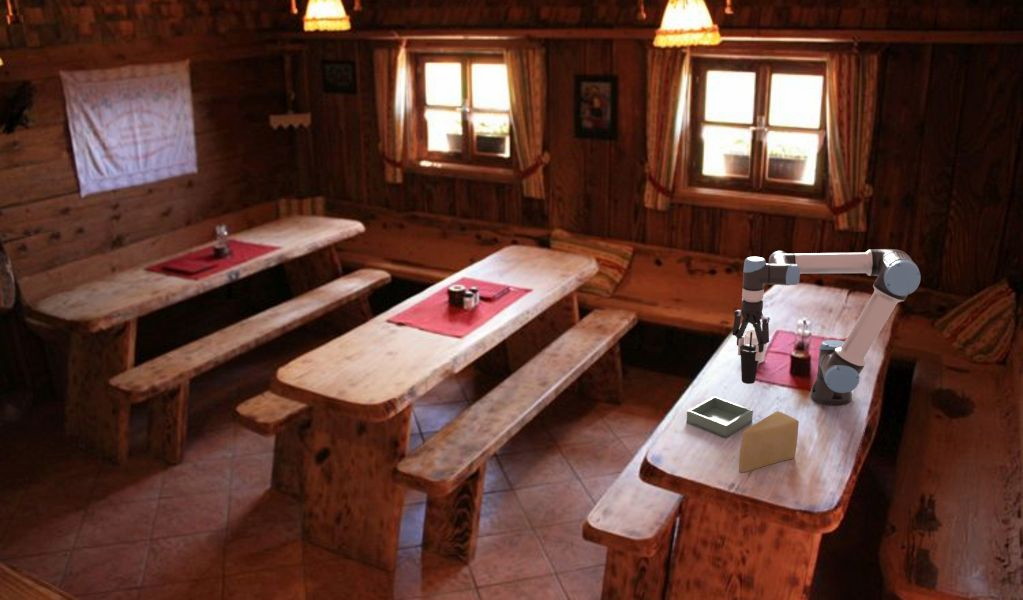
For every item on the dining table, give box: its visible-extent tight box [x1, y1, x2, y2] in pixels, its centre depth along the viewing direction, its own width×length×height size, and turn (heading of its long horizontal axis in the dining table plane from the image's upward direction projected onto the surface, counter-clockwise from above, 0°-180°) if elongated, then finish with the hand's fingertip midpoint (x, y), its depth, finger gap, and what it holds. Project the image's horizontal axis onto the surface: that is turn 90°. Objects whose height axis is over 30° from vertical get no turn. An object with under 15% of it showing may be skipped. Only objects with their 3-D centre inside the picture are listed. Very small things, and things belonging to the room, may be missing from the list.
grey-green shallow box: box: [686, 395, 754, 439], centre depth 326 cm, size 17×17×5 cm
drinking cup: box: [740, 332, 759, 385], centre depth 330 cm, size 8×8×20 cm
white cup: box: [744, 329, 768, 364], centre depth 377 cm, size 10×10×12 cm
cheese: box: [738, 410, 800, 474], centre depth 297 cm, size 22×10×15 cm, turn 123°
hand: (749, 356), depth 330 cm, fingers closed on drinking cup, 7 cm apart
